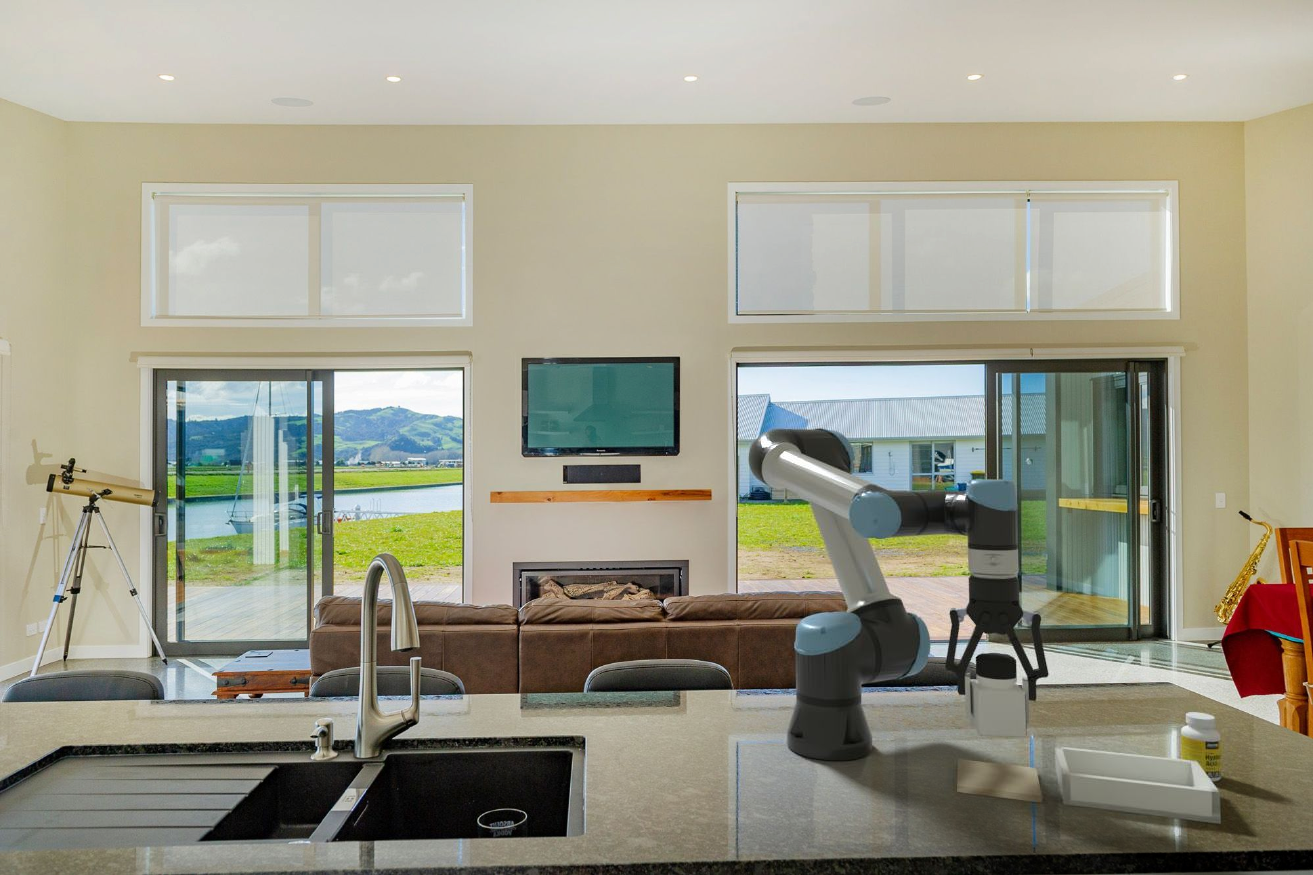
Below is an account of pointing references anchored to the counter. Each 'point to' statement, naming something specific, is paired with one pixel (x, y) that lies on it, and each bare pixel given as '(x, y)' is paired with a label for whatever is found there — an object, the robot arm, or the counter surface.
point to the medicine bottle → (997, 697)
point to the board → (998, 780)
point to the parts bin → (1136, 784)
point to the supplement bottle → (1202, 743)
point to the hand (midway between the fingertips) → (996, 717)
